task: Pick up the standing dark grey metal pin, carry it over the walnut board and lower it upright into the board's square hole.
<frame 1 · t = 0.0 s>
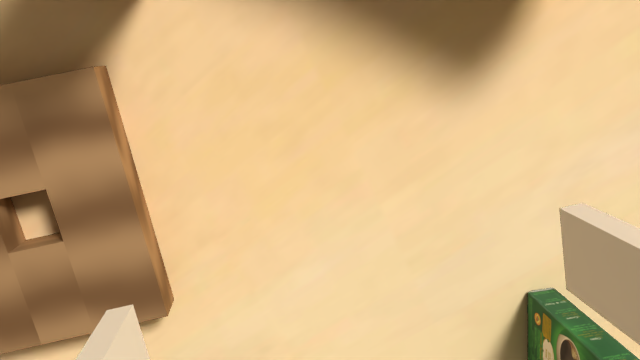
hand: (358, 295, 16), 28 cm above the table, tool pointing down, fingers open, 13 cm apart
coffee box: (538, 326, 49), on the table
hole board: (43, 210, 42), on the table
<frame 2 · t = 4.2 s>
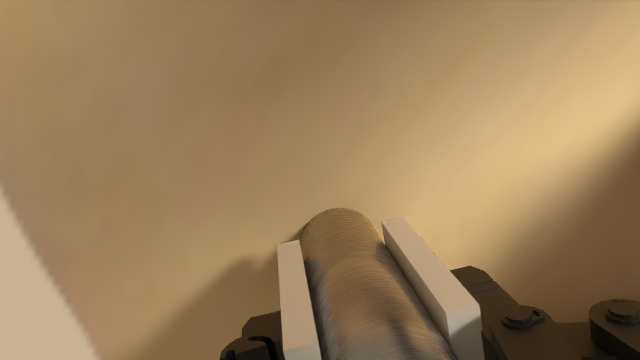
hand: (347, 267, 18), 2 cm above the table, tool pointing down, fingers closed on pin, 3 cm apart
pin: (338, 246, 20), on the table, touching gripper
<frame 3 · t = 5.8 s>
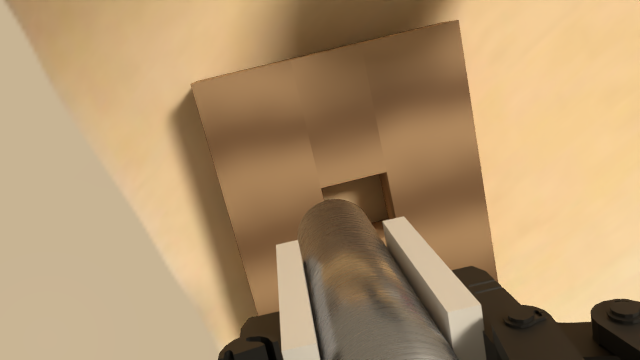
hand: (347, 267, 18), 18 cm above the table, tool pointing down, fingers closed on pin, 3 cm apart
pin: (334, 235, 21), point 14 cm above the table, touching gripper
hole board: (353, 198, 35), on the table
when the fingers open (5 cm above the table, at t = 7.8 s): pin stays where it is, resting in hole board.
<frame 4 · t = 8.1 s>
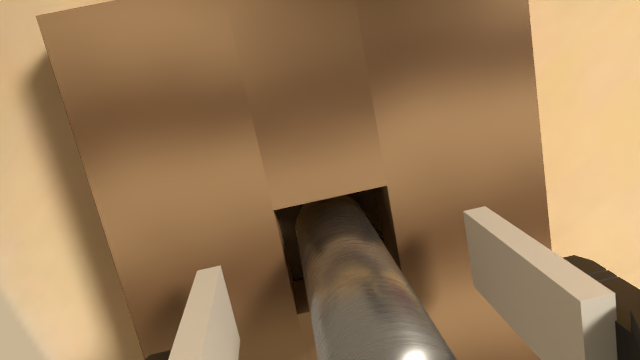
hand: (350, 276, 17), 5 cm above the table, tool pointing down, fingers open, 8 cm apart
pin: (330, 225, 22), resting in hole board
hole board: (331, 226, 22), on the table
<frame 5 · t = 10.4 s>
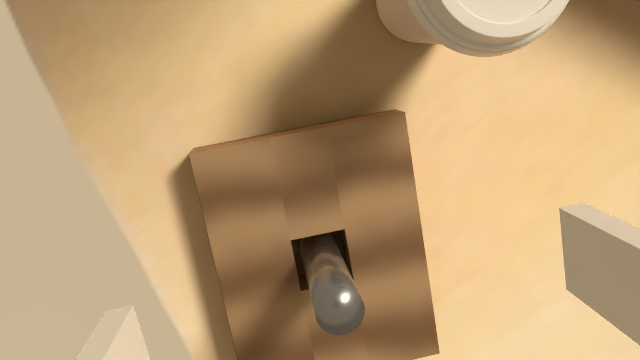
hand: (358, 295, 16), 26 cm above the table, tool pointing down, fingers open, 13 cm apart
pin: (318, 247, 43), resting in hole board
hole board: (318, 247, 43), on the table
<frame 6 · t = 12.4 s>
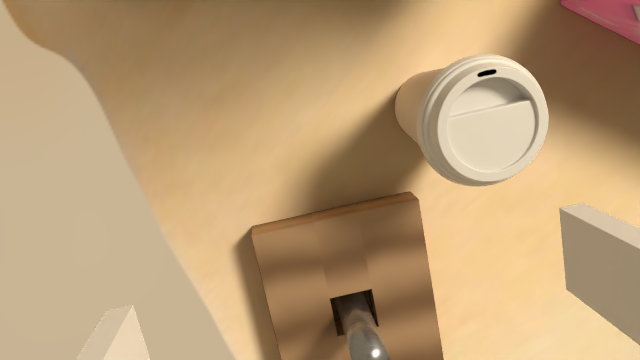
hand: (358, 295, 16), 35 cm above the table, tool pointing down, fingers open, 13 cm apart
pin: (349, 298, 54), resting in hole board
coffee cup: (426, 106, 50), on the table
hole board: (349, 299, 54), on the table
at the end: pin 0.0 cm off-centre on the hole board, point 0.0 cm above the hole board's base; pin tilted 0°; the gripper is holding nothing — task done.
